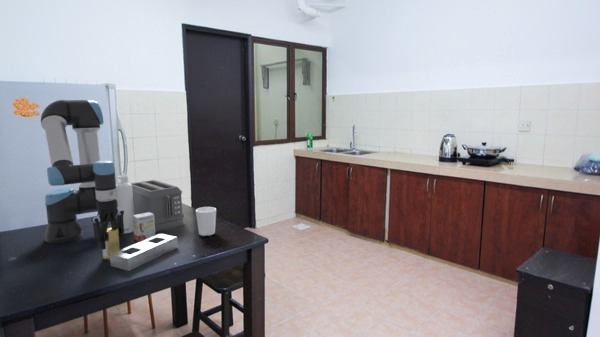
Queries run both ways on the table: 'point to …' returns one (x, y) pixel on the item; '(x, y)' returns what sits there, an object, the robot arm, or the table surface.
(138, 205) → the toaster
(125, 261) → the white peg board
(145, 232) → the ink box
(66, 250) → the table surface
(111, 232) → the gold square peg
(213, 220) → the cup
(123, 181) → the bottle
